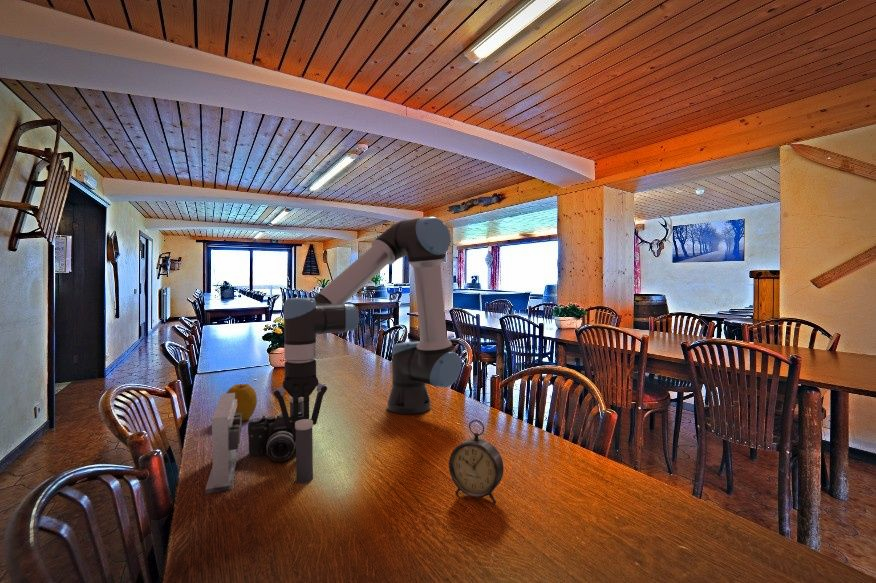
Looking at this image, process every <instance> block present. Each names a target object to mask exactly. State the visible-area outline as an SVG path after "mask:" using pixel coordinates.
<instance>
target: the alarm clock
mask: <svg viewBox="0 0 876 583" xmlns="http://www.w3.org/2000/svg"><path fill="white" fill-rule="evenodd" d="M474 422H477V423H479V424H480V425H481V426H482V430H481V432H480V433H478V432H473V431H472V428H471V425H472V423H474ZM468 429H469V431H470V432H471V434H473V436H474V437H473V438H469V439H466V440H464V441H463V442H461V443H460V444H458V445H457V446H455V448H454V449H453V450H452V451H451V453H450V456H449V458H448V459H449V460H448V470H449V475H450V478H451V480H452V482H453V483H454V485H455V486H456V488H457V489H456V490H455V491H454V493H455V494H456V495H459V492H460V491H461V492H462V493H463V494H465V495H466V496H469V497H472V498H484V497H486V496H489V498H490V500H491V501H492V503H493V504H494V505H495V504H496V503H497V501H496V499H495V497H494V494H493V491H494V490H495V489H496V488H497V486H498V485H499V484H500V483H501V481H502V479H503V476H504V471H505V470H504V469H505V468H504V462H503V457H502V456H501V454H500V452H499V450H498V449H497V448H496V447H495V446H494V445H493V444H492V443H491V442H489V441H488V440H486V439H483V438H481V437H479V436H482V435H483V434H484V432H485V426H484V424H483V422H482V421H480V420H478V419H472V420H471V421H470V422H469V424H468Z"/></svg>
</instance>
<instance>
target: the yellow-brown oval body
mask: <svg viewBox="0 0 876 583" xmlns="http://www.w3.org/2000/svg"><path fill="white" fill-rule="evenodd" d="M256 392H257V391H255V389H254V387H252V386H251V385H250V384H247V383H244V384H243V383H242V384H241V383H240V384H239V383H238V384H237V383H236V384H233V385H232V386H231V387H230V388H228V390H227V392H226V393H235V399H237V408H236V412H235V413H241V418H242V422H243V421H247V420H250V418H251V417H252V416H253V414H254V412H255V410H256V407H257V403H258V399H257V397H258V396H257V393H256Z"/></svg>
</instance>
